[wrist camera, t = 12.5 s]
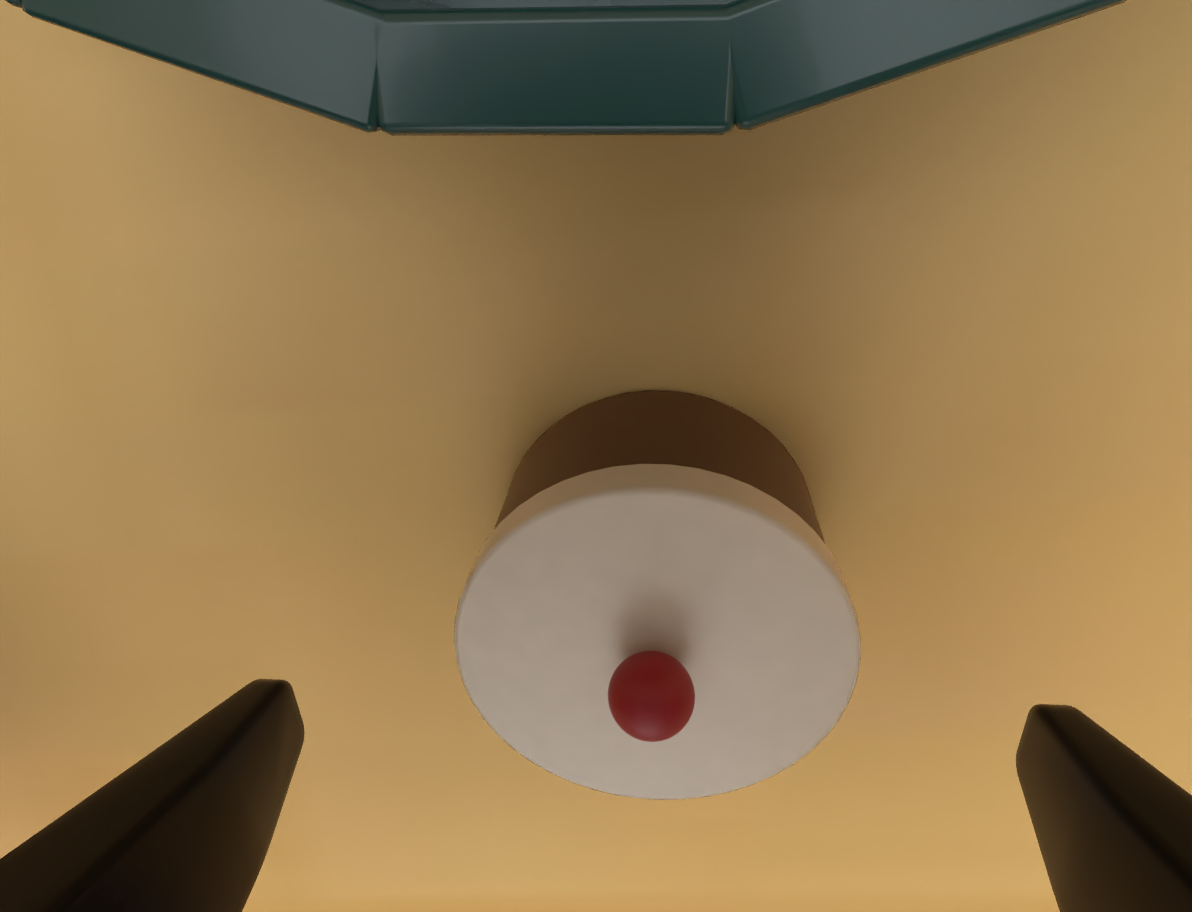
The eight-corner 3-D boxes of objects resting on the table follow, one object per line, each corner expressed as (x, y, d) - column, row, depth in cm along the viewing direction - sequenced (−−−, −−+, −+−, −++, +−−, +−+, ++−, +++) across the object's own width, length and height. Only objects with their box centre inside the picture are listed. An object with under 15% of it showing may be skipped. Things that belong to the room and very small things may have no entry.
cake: (742, 683, 14) (769, 913, 11) (470, 600, 14) (393, 806, 10) (876, 445, 12) (976, 631, 8) (548, 336, 12) (486, 476, 8)
